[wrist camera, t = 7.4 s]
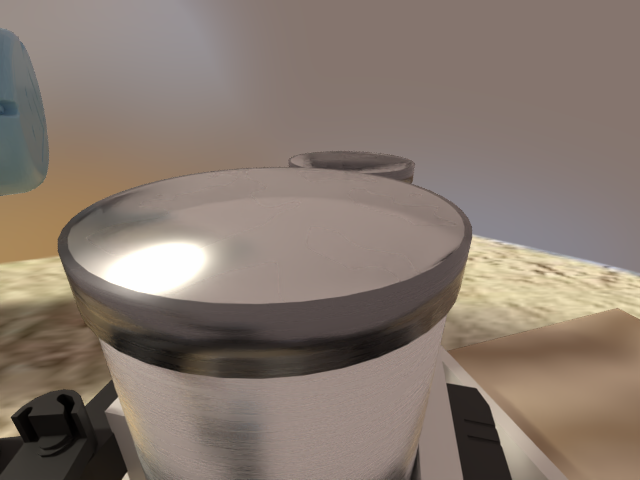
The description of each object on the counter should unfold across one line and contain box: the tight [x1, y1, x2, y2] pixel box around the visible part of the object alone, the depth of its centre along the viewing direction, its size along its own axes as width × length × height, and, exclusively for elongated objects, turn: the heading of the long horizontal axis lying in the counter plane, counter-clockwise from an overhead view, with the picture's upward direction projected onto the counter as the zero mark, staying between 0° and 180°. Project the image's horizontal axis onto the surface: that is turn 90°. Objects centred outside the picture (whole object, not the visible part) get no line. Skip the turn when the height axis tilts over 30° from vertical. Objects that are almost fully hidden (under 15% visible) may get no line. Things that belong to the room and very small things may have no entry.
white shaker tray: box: [122, 344, 568, 480], centre depth 16 cm, size 20×18×4 cm
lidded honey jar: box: [58, 167, 472, 480], centre depth 8 cm, size 6×6×14 cm
